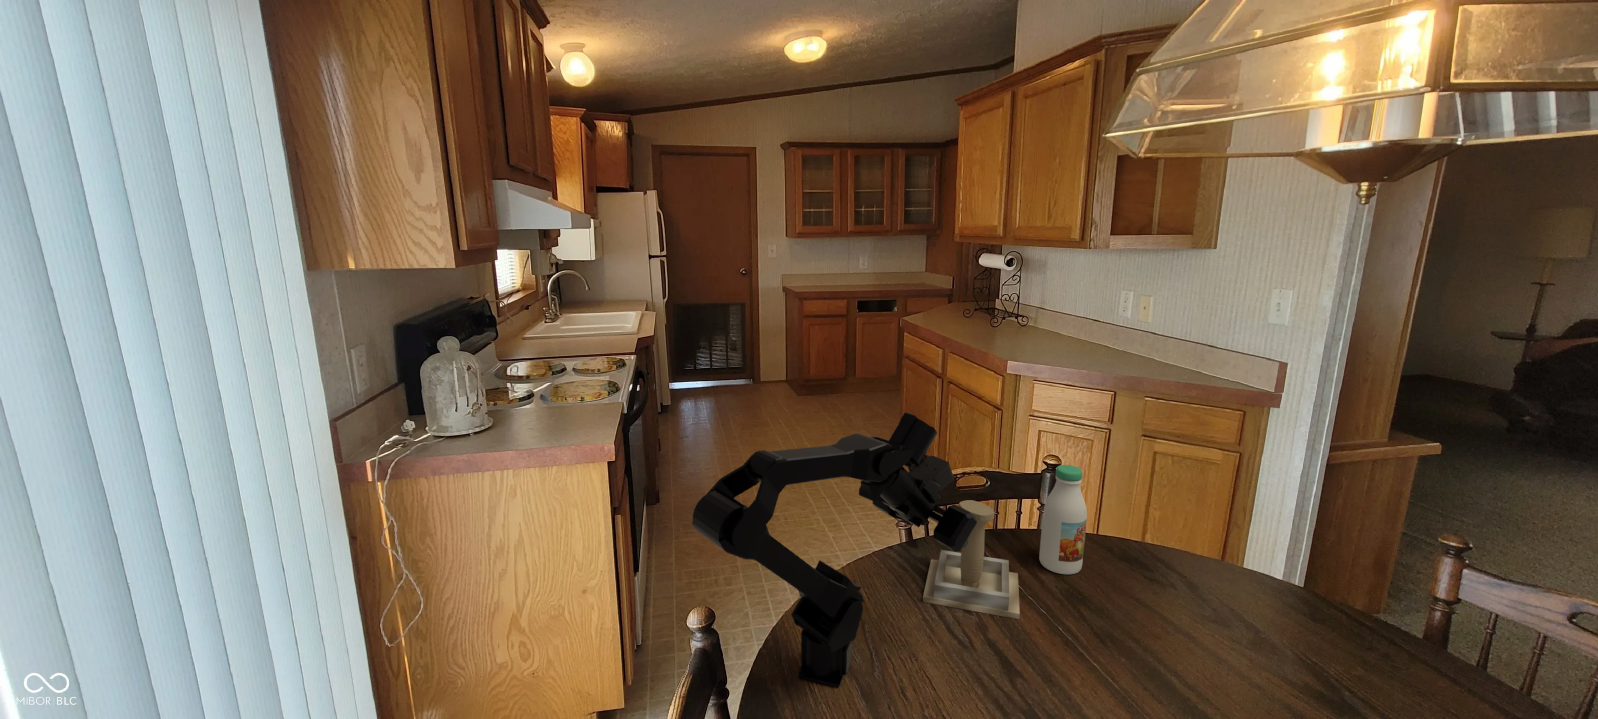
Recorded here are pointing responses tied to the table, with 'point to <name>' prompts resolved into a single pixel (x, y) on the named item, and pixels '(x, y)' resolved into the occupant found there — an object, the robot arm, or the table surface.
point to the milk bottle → (1064, 523)
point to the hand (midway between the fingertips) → (944, 533)
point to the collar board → (990, 597)
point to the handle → (974, 543)
